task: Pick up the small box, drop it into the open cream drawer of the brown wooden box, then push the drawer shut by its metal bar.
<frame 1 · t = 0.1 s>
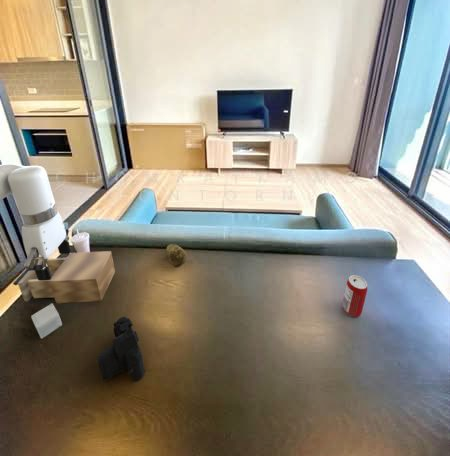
hand: (56, 265, 70), 21 cm above the table, tool pointing down, fingers open, 9 cm apart
potato: (176, 261, 99), on the table
drawer: (47, 277, 86), point 5 cm above the table, slide at 9.0 cm
smoothie: (85, 256, 102), on the table
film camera: (121, 362, 66), on the table
brown wooden box: (87, 286, 88), on the table
small box: (49, 326, 75), on the table
soda can: (351, 310, 79), on the table
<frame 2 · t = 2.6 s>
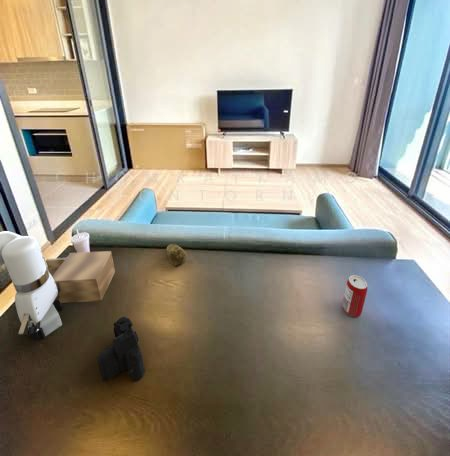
hand: (48, 323, 74), 1 cm above the table, tool pointing down, fingers closed on small box, 7 cm apart
small box: (49, 326, 75), on the table, touching gripper
everything else where it was.
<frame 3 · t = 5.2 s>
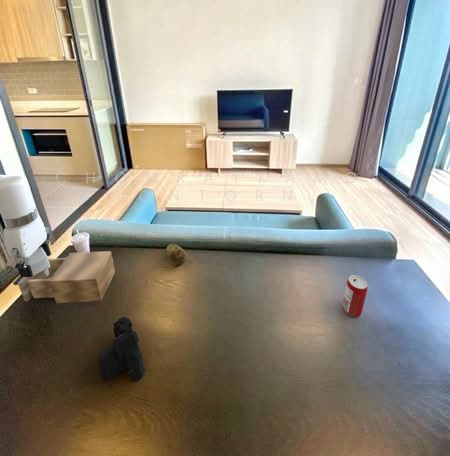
hand: (36, 265, 77), 16 cm above the table, tool pointing down, fingers closed on small box, 7 cm apart
small box: (37, 268, 77), point 14 cm above the table, touching gripper
everything else where it was.
when the fingers open (10 cm above the table, at t = 7.8 s): small box drops 7 cm, resting on drawer.
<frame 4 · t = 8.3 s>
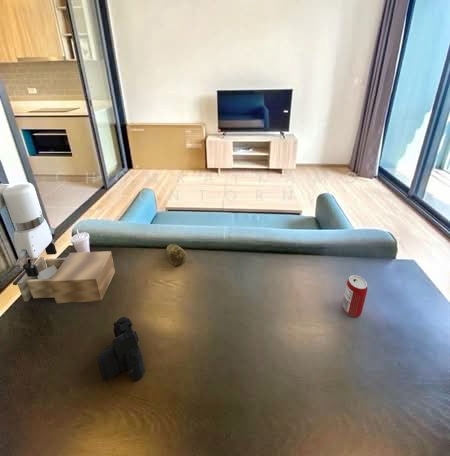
hand: (43, 264, 84), 11 cm above the table, tool pointing down, fingers open, 9 cm apart
drawer: (46, 277, 86), point 5 cm above the table, slide at 9.2 cm, touching small box
small box: (51, 284, 87), point 2 cm above the table, touching drawer
everything else where it was.
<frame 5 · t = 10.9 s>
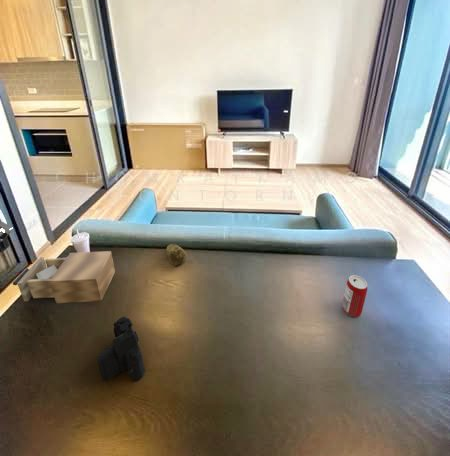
nothing on the table moved.
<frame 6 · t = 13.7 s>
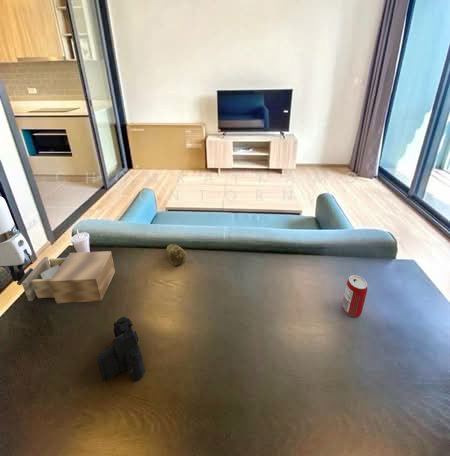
hand: (19, 277, 85), 5 cm above the table, tool pointing down, fingers closed
drawer: (50, 277, 86), point 5 cm above the table, slide at 7.8 cm, touching gripper, small box
small box: (55, 283, 87), point 2 cm above the table, touching drawer
everything else where it was.
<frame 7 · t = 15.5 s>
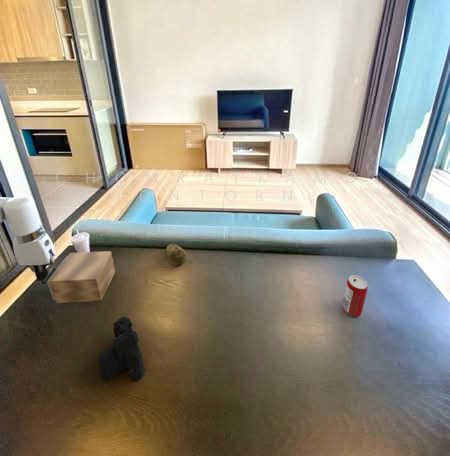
hand: (43, 277, 86), 5 cm above the table, tool pointing down, fingers closed
drawer: (73, 276, 86), point 5 cm above the table, slide at 0.0 cm, touching brown wooden box, gripper, small box
small box: (78, 282, 87), point 2 cm above the table, touching drawer
everything else where it was.
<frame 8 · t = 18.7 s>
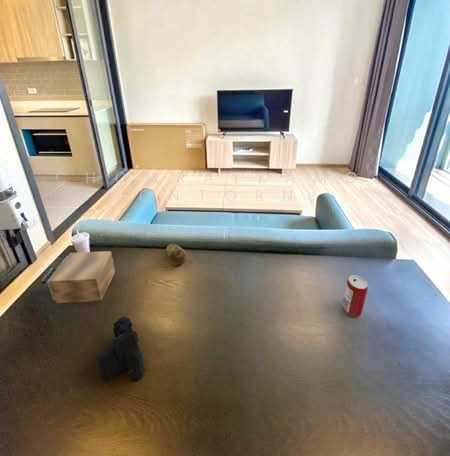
hand: (15, 244, 80), 19 cm above the table, tool pointing down, fingers closed
drawer: (73, 276, 86), point 5 cm above the table, slide at 0.0 cm, touching small box
everything else where it was.
at the end: small box inside the target area in the brown wooden box (2.8 cm from its centre), point 1.8 cm above the brown wooden box's base; drawer slide at 0.0 cm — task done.
